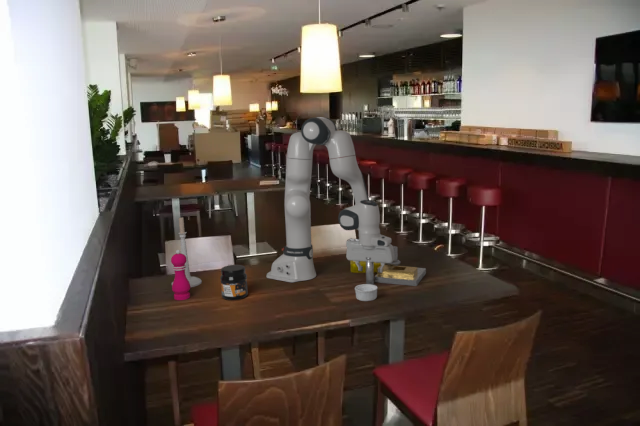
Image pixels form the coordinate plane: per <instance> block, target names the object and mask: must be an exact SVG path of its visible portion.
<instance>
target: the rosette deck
mask: <svg viewBox="0 0 640 426" xmlns="http://www.w3.org/2000/svg"><path fill="white" fill-rule="evenodd" d="M392 246H393V249H394V257H395V259H394V261H393V262H392V263H385V265H384V267H383V272H382V273H379V272H378V268H379V267H380V268H381V266H382V265H381V266H379V267H378V268H377V272H376V275H375V276H374V283H379V284H380V283H381V284H388V285H389V284H393V285H400V286H401V285H403V286H409V287H410V286H413V287H417V286H418V285H419V284H420V282H421V281H422V279H423V278H424V277H425V276H426V274H427V269H426V267H417V266H405V265H401V260H399V259H398V256H399V255H398V246H395V245H392Z"/></svg>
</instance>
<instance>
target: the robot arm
mask: <svg viewBox="0 0 640 426" xmlns="http://www.w3.org/2000/svg"><path fill="white" fill-rule="evenodd" d="M300 129H301V130H300V131H298V132H294V133H292V134H291V136H290V137H289V141H288V145H287V150H286V151H287V152H286V165H285V166H286V167H285V182H284V183H285V187H284V204H283V205H284V217H285V218H284V219H285V220H284V221H285V238H286V239H285V240H286V241H285V243H286V245H284V246H283V248H281V252H283V254H281V255H280V256H279V257H277V258H276V259H275V260H274V261H273V262H272V264H271V268H270V269H271V270H270V271H269V272H267V273H266V278H267V279H271V280H277V281H283V282H287V283H296V282H302V281H309V280H312V279H315V278H316V276H317V272H316V268H315V265H314V260H313V259H314V258H313V257H314V249H313V244H312V229H311V228H312V225H311V224H312V222H311V221H312V220H311V216H312V215H311V212H312V211H311V200H310V195H311V193H310V192H311V185H312V184H311V182H312V172H313V171H312V170H313V157H314V156H313V155H314V154H313V153H314V149H315V147H316V146H318V145H319V146H325V147H326V149H327V152H328V158H329V166H330V169H331V172H332V174H333V175H334V176H335V177H337V178H339V179H341V180H343V181H345V182H347V183H348V184H349V186H350V187H351V191H352V195H353V200H354V203H355V204H354V205H352V206H348V207H345V208H344V209H341V210H340V211H339V213H338V217H337V220H338V224H339V225H340V226H339V227H341V228H342V229H343V230H345V231H353V230H354V231H356V230H357V231H358V238H352V237H350V238H349V239H347V240H346V241H345V245H346V254H345V255H346V259H347V260H348V261H350V260H353V261H355V263H356V265H357V266H358V271H363V266H361V265H360V263H359V262H360V261H368V260H367V259H366V257H369V258H371V260H369V261H370V262H380V263H381V265H382V266H381V268H380V267H379V268H378V272H379V273H382V272H383V267H384V265H386V264H385V263H392V262H393V261H394V259H395V257H394V249H393V246H394V245H392V244H391V243H392V238H391V237H389V236H386V235H383V234H381V229H380V223H381V217H380V216H381V214H380V208H379V207H380V206H379V205H378V203H377V202H376V201H374V200H372V199H371V200H370V198H369V193H368V191H367V186H366V183H365V179H364V175H363V173H362V170H361V169H360V168H359V165H358V161H357V157H356V151H355V145H354V142H353V139H352V137H351V134H350V133H349V132H348V131H346V130H340V129H339V130H338V128H337V125H336V123H335V122H334V121H333V120H332V119H331V118H328V117H323V116H317V117H310V118H307V119H306V120H305V121H304V122H303V123H302V125H301V128H300Z"/></svg>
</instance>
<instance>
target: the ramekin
mask: <svg viewBox="0 0 640 426" xmlns="http://www.w3.org/2000/svg"><path fill="white" fill-rule="evenodd" d="M354 291H355V298H356V299H357V300H359V301H362V302H370V301H374V300H376V299H377V297H378V286H377V285H376V284H374V285H372V284H366V283H363V284H358V285H356V286H355V287H354Z"/></svg>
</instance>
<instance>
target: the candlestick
mask: <svg viewBox="0 0 640 426" xmlns="http://www.w3.org/2000/svg"><path fill="white" fill-rule="evenodd" d="M178 226H179V232H178V233H177V234H178V235H179V238H180V253H181V254H184V255H185V256H186V259H187V261H186V263H185V265H186V269H185V275H186V278H187V279H188V281H189V283H190V288H195V287H197V286H199V285H201V284H202V279H201V278H199V277H198V276H191V272H190V264H189V256H188V248H187V245H186V244H187V243H186V236H187V235H186V234H187V231H185V220H184V217H182V216H180V217H178ZM172 284H173V281H172V282H171V285H172Z"/></svg>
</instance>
